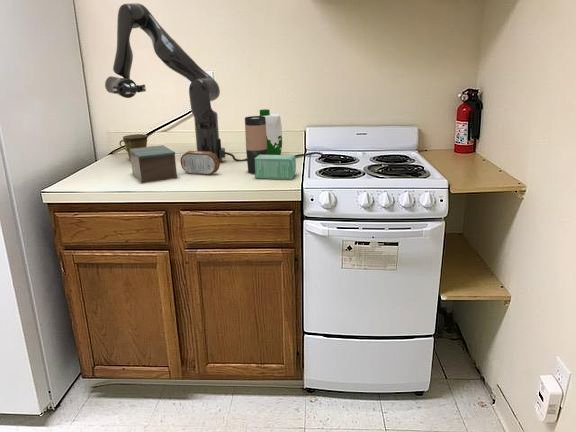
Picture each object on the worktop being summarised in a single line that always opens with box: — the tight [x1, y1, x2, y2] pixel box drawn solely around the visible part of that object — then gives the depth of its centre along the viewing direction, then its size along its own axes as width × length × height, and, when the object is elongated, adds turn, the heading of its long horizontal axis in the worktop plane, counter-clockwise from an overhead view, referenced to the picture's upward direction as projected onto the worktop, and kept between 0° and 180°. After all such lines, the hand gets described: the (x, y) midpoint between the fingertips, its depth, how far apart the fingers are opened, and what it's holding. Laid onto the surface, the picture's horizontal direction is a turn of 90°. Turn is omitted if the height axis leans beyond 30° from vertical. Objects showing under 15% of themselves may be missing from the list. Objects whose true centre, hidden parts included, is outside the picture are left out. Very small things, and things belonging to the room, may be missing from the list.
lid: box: [129, 144, 176, 159], centre depth 179 cm, size 16×13×1 cm
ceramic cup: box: [118, 133, 148, 162], centre depth 209 cm, size 13×10×10 cm
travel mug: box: [244, 115, 267, 175], centre depth 182 cm, size 8×8×20 cm
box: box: [254, 154, 297, 180], centre depth 175 cm, size 7×14×8 cm, turn 79°
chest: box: [130, 152, 178, 184], centre depth 181 cm, size 16×13×9 cm
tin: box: [180, 150, 220, 176], centre depth 182 cm, size 15×3×8 cm, turn 71°
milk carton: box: [258, 108, 283, 155], centre depth 203 cm, size 9×9×20 cm
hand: (134, 90), depth 186 cm, fingers closed
